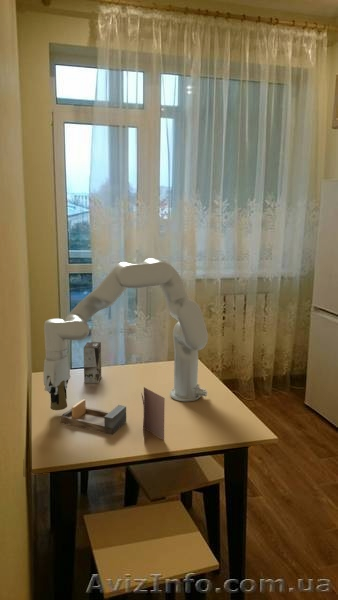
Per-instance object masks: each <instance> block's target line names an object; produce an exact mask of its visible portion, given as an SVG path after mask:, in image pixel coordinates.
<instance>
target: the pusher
mask: <svg viewBox="0 0 338 600" xmlns="http://www.w3.org/2000/svg"><path fill="white" fill-rule="evenodd" d="M86 403H87V402H86V399H84V398H83V399H81V400H80V401H78V402H77V403H76V404H74V405H72V406H71V409H72V418H76V419H78V418H79V417H80V416H82V415H83V414H84V413H86V407H87V405H86Z"/></svg>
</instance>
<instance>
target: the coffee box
mask: <svg viewBox="0 0 338 600" xmlns="http://www.w3.org/2000/svg"><path fill="white" fill-rule="evenodd" d="M101 347H102V344H101V342H99V341H98V342H97V341H94V342H93V341H92V342H91V341H90V342H86V344H85V345H84V346H83V383H85V384H86V383H87V384H98V383H99V381H100V380H101V377H102V350H101V349H102V348H101Z"/></svg>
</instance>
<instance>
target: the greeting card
mask: <svg viewBox="0 0 338 600" xmlns="http://www.w3.org/2000/svg"><path fill="white" fill-rule="evenodd" d="M140 394H141V400H142V405H143V421H142V422H143V423H142V434H143V437H145V430H147V432H150V433H152V434H153V435H155V436H156V438H157V437H158V438H159V439H161V440H162V441H165V397H164V396H162V395H160V394H158V393H156V392H154V391H153V390H150V389H148V388H146V387H144V386H143V393H142V392H140Z"/></svg>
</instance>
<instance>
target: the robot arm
mask: <svg viewBox="0 0 338 600" xmlns="http://www.w3.org/2000/svg"><path fill="white" fill-rule="evenodd" d="M181 277H182V276H180V274H179V272H178V271H177V269H175V267H174V266H172V265H171V264H170V263H168V262H167V261H165V260H163V259H160V258H154V257H149V258H146V259H145V260H144V261H142V262H141V263H135V264H134V263H130V262H127V261H122V262H119V263H116V265H115V266H114V267H113V268H112V269H111V270H110V272H108V274H106V276H105V277H104V279H102V281H101V282H100V283H99V284H98V285H97V286H96V287H95V288H94V289H93V290H92V292H91V291H90V293H89V294H87V295H86V296H85V297H84V298H83V299H81V300H80V301H79V302H78V303H77V304H76V306H74V307H73V309H72V310H71V311H70V312H69V313H68V314H67V315H66V317H65V319H63V318H50V319H47V320H45V322H44V325H43V327H44V328H43V331H44V345H45V347H44V349H45V359H44V362H43V363H44V364H43V385H44V391H46V392H48V393H49V394H50V404H51V403H55V402H56V403H57V405H58V404H59V394H57V392H58V387H57V386H58V385H60V383H61V382H62V381H63V380H64V381H65V385H64V391H65V396H66V400H67V399H68V398H67V388H68V383H69V380H70V379H71V369H70V361H69V356H68V340H69V341H81V340H83V339H84V340H85V339H86V338H87V337H88V336H89V334H90V325H89V324H88V322H89V321H90V320H91V319H92V317H93V316H95V315H96V314H97V313H98V312H101V311H102V310H105V309H107V308H109V307H111V306H113V305H114V304H115V302H117V300H118V299H120V297H121V296H122V295H123V293H124V292H125V291H126V290H127V289H140V288H142V289H143V288H149V287H151V288H152V287H157V286H159V287H160V288H161V291H162V294H163V296H164V300H165V303H166V306H167V309H168V313H169V316H171V317H172V318H173V319H175V320H176V321H177V322H176V323H175V325H174V326H173V330H172V339H173V347H174V363H173V365H174V369H173V379H174V380H173V389H171V390H170V392H169V396H170V397H171V398H172V399H174V400H175V401H178V402H194V401H197V400H199V399H200V398H201V397H202V396H203V397H207V395H208V391H207V389H205V388H201V387H200V384H199V383H198V377H199V376H198V372H199V368H198V366H199V351H201V350H202V349H204V348H205V347H206V345H207V343H208V341H209V333H208V329H207V325H206V322H205V318H204V315H203V311H202V309H201V307H200V305H199V304H198V303H197V302H196V301H195V300H194V299H191V298H190V297H189V296H188V294H187V290H186V287H185V285H184V282H183V280H182V278H181ZM51 384H53V385H51ZM52 387H54V388H55V389H53V388H52Z"/></svg>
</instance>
